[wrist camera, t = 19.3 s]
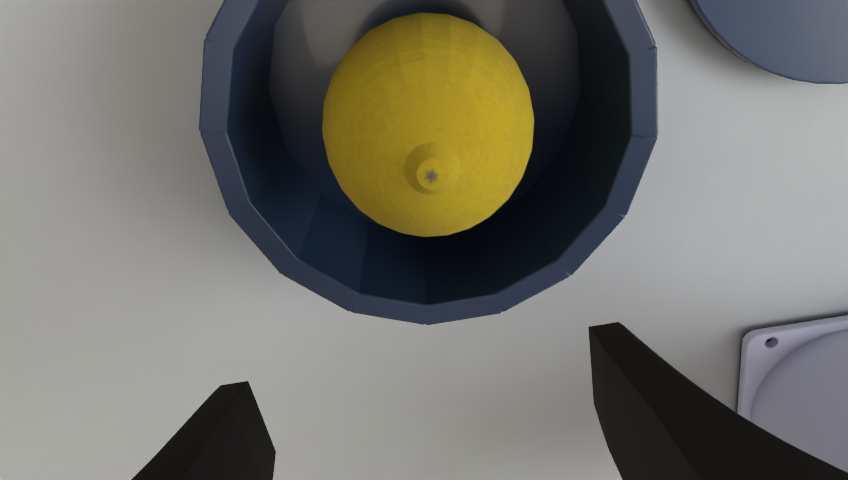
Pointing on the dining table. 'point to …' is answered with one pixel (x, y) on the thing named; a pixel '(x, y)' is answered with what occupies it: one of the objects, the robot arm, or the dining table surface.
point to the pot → (437, 255)
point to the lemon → (428, 124)
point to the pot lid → (784, 35)
